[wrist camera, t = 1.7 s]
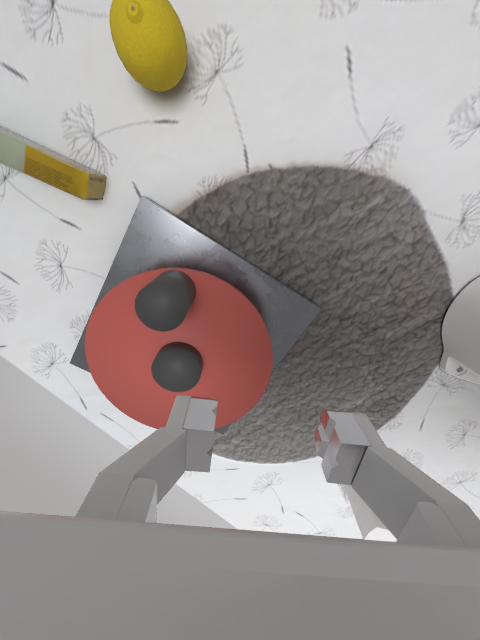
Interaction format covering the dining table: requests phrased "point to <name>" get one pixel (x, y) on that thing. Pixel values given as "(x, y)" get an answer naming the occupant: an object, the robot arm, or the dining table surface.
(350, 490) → the base with upright slab
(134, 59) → the lemon
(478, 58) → the dining table surface
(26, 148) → the medication box
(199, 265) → the valve stand
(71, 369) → the dining table surface
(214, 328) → the handwheel
